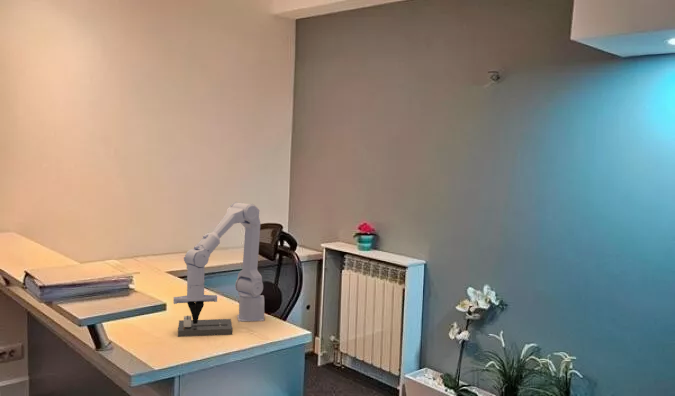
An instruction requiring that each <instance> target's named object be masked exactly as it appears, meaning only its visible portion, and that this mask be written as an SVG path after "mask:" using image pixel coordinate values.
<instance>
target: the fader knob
mask: <svg viewBox="0 0 675 396" xmlns="http://www.w3.org/2000/svg"><path fill="white" fill-rule="evenodd" d="M183 320H184V327H191V320H192V315H184V316H183Z"/></svg>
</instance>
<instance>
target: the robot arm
mask: <svg viewBox="0 0 675 396" xmlns="http://www.w3.org/2000/svg"><path fill="white" fill-rule="evenodd" d="M235 224H241V225H242V226H243V227H244V229H245V231H244V241H243V242H244V244H243V254H242V255H243V258H242V269H241V270H240V271H239V272H238V273H237V279H236V280H235V284H234V286H235V290H236V291H237V292H238V293H237V294H238V295H239V296H238V304H239V305H238V314H237V315H236V316H237V321H238V323H240V322H264V321H265V295H263V294H262V293H263V290H264V283H263V276H262V275H261V273H260V271H259V270H258V265H259V263H258V262H259V251H260V236H261V235H260V234H261V233H260V232H261V221H260V209H259V208H258V207H257V206H256V205H255V204H253V203H243V202H238V201H234V202H232V203H231V205H230V206H229V207H228V208H227V209H226V213H225V214H224V216H223V217H222V218H221V219H220V221H219V223H218V224H217V225H216V226H215V228H214V229H213V230H212V232H207V233H204V234H203V235H202V238H201V239H200V240H199V242H198V243H196V244H195V245H194V247H193V248H190V249H188V250H187V252H186V253H185V255H184V257H183V261H184V263H185V264H186V269H187V272H186V273H187V274H186V275H187V276H186V279H187V281H186V285H187V286H186V295H181V296H173V304H174V305H175V304H176V305H177V304H187V306H188V309H189V311H190V313H191V319H192V320H193V324H197V322H198V320H199V317H200V315H201V312H202V310H203V307H204V305H205V303H206V302H207V303H209V302H214V303H217V302H218V296H217V294H205V271H206V270H205V266H207V264H208V263H209V258H210V257H211V254H212V253H213V252H214V251H215V249H216V248H217V247H218V246H219V245H220V243H221V242H220V241H221V240H220V239H221V238H222V236H223V235H225V234H226V233H227V232H228V230H230V229H231V227H232V226H233V225H235ZM261 294H262V295H261Z"/></svg>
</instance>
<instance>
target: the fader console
mask: <svg viewBox="0 0 675 396" xmlns="http://www.w3.org/2000/svg"><path fill="white" fill-rule="evenodd" d="M177 327H178V328H177V329H178V330H177V337H178V338H180V337H204V336H207V337H209V336H228V335H229V336H230V335H231V336H233V325H232V319H231V318H223V319H222V318H217V319H198V322H197V324H193V319H191V327H184V319H183V320H180V319H179V320H178V326H177Z"/></svg>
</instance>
